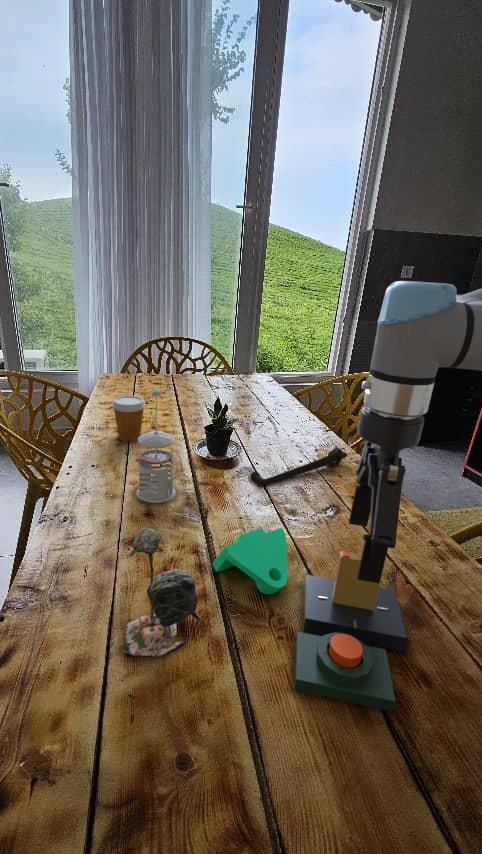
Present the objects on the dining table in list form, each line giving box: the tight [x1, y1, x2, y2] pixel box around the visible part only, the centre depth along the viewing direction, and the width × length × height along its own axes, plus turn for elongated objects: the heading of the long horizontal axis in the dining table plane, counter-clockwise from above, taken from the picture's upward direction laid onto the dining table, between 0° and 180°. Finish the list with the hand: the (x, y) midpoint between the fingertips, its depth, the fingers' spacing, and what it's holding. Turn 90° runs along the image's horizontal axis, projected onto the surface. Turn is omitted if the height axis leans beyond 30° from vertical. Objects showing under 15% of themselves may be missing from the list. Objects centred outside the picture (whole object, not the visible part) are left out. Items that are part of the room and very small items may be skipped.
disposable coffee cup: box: [111, 395, 146, 442], centre depth 131 cm, size 10×10×12 cm
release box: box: [293, 631, 397, 712], centre depth 59 cm, size 12×8×4 cm, turn 77°
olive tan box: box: [332, 549, 385, 610], centre depth 66 cm, size 6×2×9 cm, turn 77°
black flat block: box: [302, 574, 408, 653], centre depth 68 cm, size 14×10×3 cm
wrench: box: [250, 446, 348, 487], centre depth 116 cm, size 5×5×30 cm
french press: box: [135, 389, 183, 504], centre depth 97 cm, size 10×12×25 cm
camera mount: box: [211, 527, 288, 595], centre depth 76 cm, size 12×8×10 cm
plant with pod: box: [123, 526, 202, 658], centre depth 60 cm, size 8×11×20 cm
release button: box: [329, 634, 363, 668], centre depth 58 cm, size 4×4×2 cm
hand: (362, 549), depth 64 cm, fingers open, 13 cm apart
